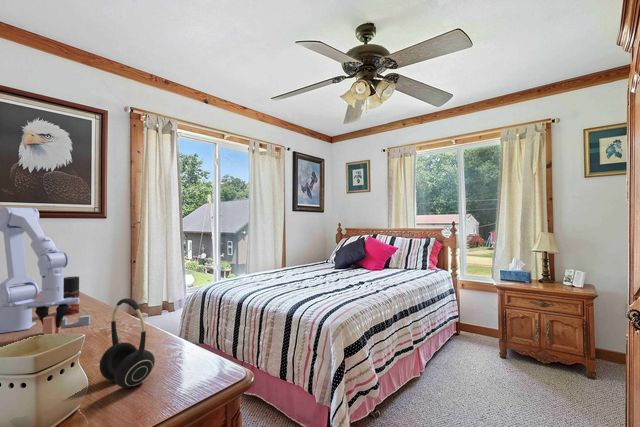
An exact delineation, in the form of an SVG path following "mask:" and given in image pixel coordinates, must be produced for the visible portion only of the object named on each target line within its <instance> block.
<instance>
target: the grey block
mask: <svg viewBox="0 0 640 427" xmlns="http://www.w3.org/2000/svg"><path fill="white" fill-rule="evenodd" d="M90 323H91V315H90V314H87V315H80V316H79V317H78V321H72V322H68V317H63V319H62V323H61V329H65V328H72V327H81V326H88V325H89V326H90Z"/></svg>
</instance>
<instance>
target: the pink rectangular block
mask: <svg viewBox="0 0 640 427" xmlns="http://www.w3.org/2000/svg"><path fill="white" fill-rule="evenodd" d="M61 330H62V328H61V326H60V327H59V328H57V312H56V310H52V311H50V312H49V313H48V315H47V316H46V317H45V318H43V325H42V335H43V334H54V333H55V334H57V333H60V331H61Z"/></svg>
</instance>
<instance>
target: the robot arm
mask: <svg viewBox="0 0 640 427" xmlns="http://www.w3.org/2000/svg"><path fill="white" fill-rule="evenodd" d="M39 220H40V212H39V210H38V209H37V208H36V207H11V206H10V207H9V206H2V207H1V208H0V232H1V233H3V240H4V242H3V244H4V251H5V260H6V269H7V270H6V271H7V278H6V279H5V280H3V281H2V282H1V283H0V334H4V333H12V332H20V331H27V330H28V331H29V330H30V329H31V328H32V327H34V326H35V325H36V324H37V321H33V310H34V309H35V310H34V312H35V315H37V317H38V318H39V320H40V322H41V324H42V326H43V318H45V317H46V316H47V315H48V314H49V311H50V310H49V309H50V307H51V308H52V307H55V311H56V312H57V328H59V327H60V326H61V323H62V319H63V318H64V314H65V312H66V310H67V308H68V306H69V305H71V304H79V305H80V297H79V298H63V286H64V278H65V275H64V272H65V270H64V269H65V268H67V266H68V264H69V257H68V255H67V253H66V252H65V251H62V250H61V249H58V248H57V246H56V245H55V242H54V241H53V240H52V238H51V237H49V236H47V235H45V234H44V232H43V229H42V227H41V225H40V223H39ZM24 233H26V235H27V236H28V237H29V238H30V240H31V243H30V247H31V249H32V250H33V252H34V254H35V255H36V257H37V258H38V260H37V267H38V270H39V276H41V300H38V301H37V300H36V299H37V298H38V297H39V295H40V288H39V286H38V284H37V280H36V278H34V277H32V276H29V275H28V271H27V270H28V269H27V262H26V261H27V260H26V254H25V253H26V251H25V244H24V243H25V242H24V236H23V235H24ZM35 300H36V301H35Z"/></svg>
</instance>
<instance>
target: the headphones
mask: <svg viewBox="0 0 640 427" xmlns="http://www.w3.org/2000/svg"><path fill="white" fill-rule="evenodd" d="M122 304H127V305H129V306H130V307H131V308H132V309H133V310H135V311H136V313H137V315H138V318H139V320H140V325H141V331H140V342H139V346H138V349H137V347H136V346H135V345H134V344H131V343H129V342H126V341H125V342H120V341H119V335H118V332H117V321H116V314H117V311H118V309H119V307H120V306H121V305H122ZM139 306H140V305H139V304H138V303H137V301H135V300H134V299H133V298H123V299H120V300H119V301H118V302H116V306H115V307H114V309H113V312H112V315H111V321H110V322H111V323H110V326H111V329H110V332H111V342H112V343H111V344H112V345H111V346H109V348H108V349H106V350H105V351H104V353H103V354H102V356H101V358H100V360H99V372H100V374H101V375H102V377H103V378H104V379H106V380H108V381H110V382H115V383H116V384H115V385H117V386H119V387H120V388H123V389H127V388H126V387H129V388H132V387H131V386H133V387H135V386H137V385H140V384H141V383H143V382H144V381H145V380H146V379H147V378H149V376H150V374H151V372H152V371H153V369H154V366H155V361H156V359H155V356H154V354H153V353H152V352H151V351H150V350H147V349H146V341H147V340H146V338H147V334H146V333H147V331H146V325H145V320H144V317H143V314H142V311H140V307H139Z"/></svg>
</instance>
